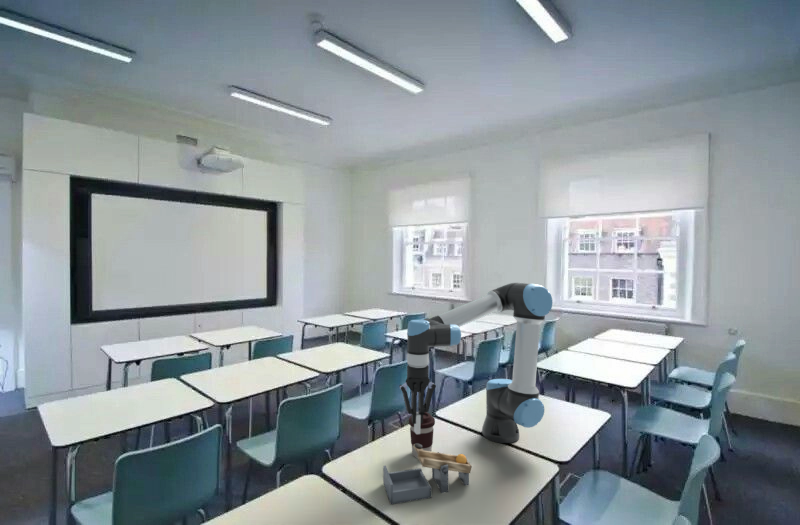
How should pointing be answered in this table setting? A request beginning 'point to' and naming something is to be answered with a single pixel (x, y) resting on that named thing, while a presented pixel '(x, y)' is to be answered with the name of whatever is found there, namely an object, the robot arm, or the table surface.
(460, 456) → the ball
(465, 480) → the post
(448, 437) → the table surface
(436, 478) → the fulcrum
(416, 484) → the tray
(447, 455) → the lever
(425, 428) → the coffee cup
